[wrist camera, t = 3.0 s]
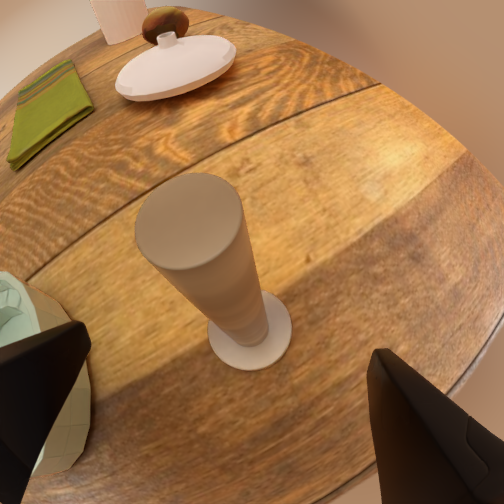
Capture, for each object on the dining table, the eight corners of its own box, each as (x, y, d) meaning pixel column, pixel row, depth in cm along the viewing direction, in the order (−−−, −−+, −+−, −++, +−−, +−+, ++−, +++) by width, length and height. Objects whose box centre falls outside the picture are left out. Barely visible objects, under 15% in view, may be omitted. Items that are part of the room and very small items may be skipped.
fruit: (197, 41, 37) (188, 2, 30) (150, 57, 36) (137, 19, 29) (187, 32, 40) (179, -2, 33) (146, 46, 40) (134, 13, 33)
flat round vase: (122, 133, 27) (96, 85, 21) (124, 78, 34) (109, 43, 28) (256, 87, 28) (250, 33, 22) (222, 46, 35) (215, 8, 29)
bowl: (122, 479, 13) (80, 497, 8) (1, 461, 12) (-34, 462, 8) (82, 270, 20) (44, 243, 16) (-17, 312, 19) (-49, 296, 15)
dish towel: (73, 63, 45) (68, 54, 42) (97, 109, 31) (88, 92, 28) (22, 101, 42) (16, 92, 39) (14, 176, 28) (1, 163, 25)
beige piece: (301, 356, 16) (358, 290, 4) (225, 380, 16) (91, 369, 4) (276, 285, 18) (264, 112, 6) (204, 308, 18) (87, 174, 6)
